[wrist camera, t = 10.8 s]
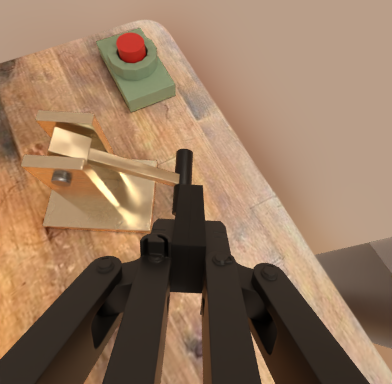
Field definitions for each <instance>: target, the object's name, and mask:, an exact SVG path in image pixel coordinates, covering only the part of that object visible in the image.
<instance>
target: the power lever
mask: <svg viewBox="0 0 392 384" xmlns="http://www.w3.org/2000/svg"><path fill="white" fill-rule="evenodd" d="M91 141H92V138H90V137H87V136H83V135H80V134H77V133H74V132H71V131H68V130H64V129H61V128H58V127H54V130H53V134H52V137H51V141H50V145H49V148H48V152H47V156H59V157H77V158H85V160H86V161H87V162H88V164H91V165H94V166H98V167H102V168H106V169H109V170H113V171H117V172H121V173H125V174H128V175H132V176H136V177H140V178H143V179H147V180H151V181H155V182H159V183H162V184H166V185H170V186H174V194H173V208H172V214H173V215H175V216H176V209H177V202H178V195H179V188H180V184H187V185H191V183H192V162H193V152H192V151H191V150H188V149H180V150H178V151H177V152H176V166H175V173H174V172H170V171H167V170H164V169H160V168H157V167H153V166H150V165H147V164H143V163H140V162H137V161H133V160H130V159H126V158H123V157H120V156H116V155H113V154H110V153H106V152H103V151H99V150H96V149H93V148H90V145H91Z"/></svg>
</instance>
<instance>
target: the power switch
mask: <svg viewBox="0 0 392 384" xmlns="http://www.w3.org/2000/svg"><path fill="white" fill-rule="evenodd" d="M35 120H36V122H37V123H38V124H39V125H40V126H41V127H42V128H43V129H44V131H45V132H46V133H47V134H48V135H49V136H50V137H52V134H53V130H54V127H58V128H61V129H64V130H68V131H71V132H74V133H77V134H80V135H83V136H87V137H90V138H92V141H91V145H90V148H93V149H96V150H99V151H103V152H106V153H110V154H113V155H115V154H114V152H113V150H112V148H111V146H110V144H109V142H108V140H107V138H106V136H105V134H104V132H103V131H102V129H101V127H100V125H99V123H98V121H97V119H96V117H95V115H94V114H93V113H79V112H63V111H47V110H38V112H37V115H36V119H35ZM130 160H133V161H137V162H140V163H143V164H147V165H150V166H153V167H157V168H158V163H157V160H140V159H130ZM21 167H22V168H24V169H25V170H26V171H28V172H29V173H31V174H32V175H33V176H35V177H36V178H37V179H39V180H40V181H41V182H43V183H44V184H45V185H47V186H48V187H50V188H51V189H52V191H51V194H50V198H49V202H48V206H47V210H46V214H45V218H44V222H43V226H44V227H47V228H53V229H75V230H96V231H118V232H139V233H151V230H152V221H153V210H154V200H155V190H156V182H155V181H151V180H147V179H143V178H140V177H136V176H132V175H128V174H125V173H121V172H117V171H113V170H109V169H106V168H102V167H98V166H94V165H91V164H88V162H87V161H86V160H85V158H77V157H59V156H41V155H24V157H23V160H22V164H21Z"/></svg>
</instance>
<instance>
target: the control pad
mask: <svg viewBox="0 0 392 384" xmlns="http://www.w3.org/2000/svg"><path fill="white" fill-rule="evenodd" d="M125 33H136V34H139V35H140V36H141V37H142V38H143V39H144V44H145V50H146V56H145V58H144V59H143V60H142V61H140V62H137V63H126V62H124V61H123V60H122V59H121V58H120V56H119V52H118V48H117V45H116V41H117V39H118V37H119V36H121V35H122V34H125ZM125 33H122V34H119V35H116V36H112V37H109V38H106V39H103V40H99V41H96V43H97V46H98V49H99V52H100V54H101V56H102V58H103V60H104V62H105V64H106V66H107V68H108V70H109V72H110V73H111V75H112V77H113V79H114V81H115V83H116V85H117V87H118V89H119V91H120V92H121V94H122V96H123V98H124V100H125V102H126V104H127V106H128V108H129V110H130V111H131V112H133V111H136V110H138V109H141V108H144V107H146V106H149V105H152V104H154V103H157V102H159V101H162V100H165V99H167V98H170V97H172V96H175V95H176V94H175V83H174V82H173V80H172V78H171V77H170V75H169V73H168V72H167V70H166V69H165V67H164V65H163V64H162V62H161V61H160V59H159V57H158V56H157V48H156V47H155V45H154V43H153V42H152V40H150V39H148V38H147V37H146V36H145V35H144V33H143V32H142V30H141V28H138V29H135V30H132V31H128V32H125Z"/></svg>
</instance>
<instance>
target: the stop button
mask: <svg viewBox="0 0 392 384" xmlns="http://www.w3.org/2000/svg"><path fill="white" fill-rule="evenodd" d="M116 45H117V48H118V52H119V56H120V58H121V59H122V60H123V61H124V62H126V63H137V62H140V61H142V60H143V59H144V58H145V56H146V50H145V44H144V39H143V38H142V37H141V36H140V35H139V34H136V33H125V34H122V35H121V36H119V37H118V39H117V41H116Z"/></svg>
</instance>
